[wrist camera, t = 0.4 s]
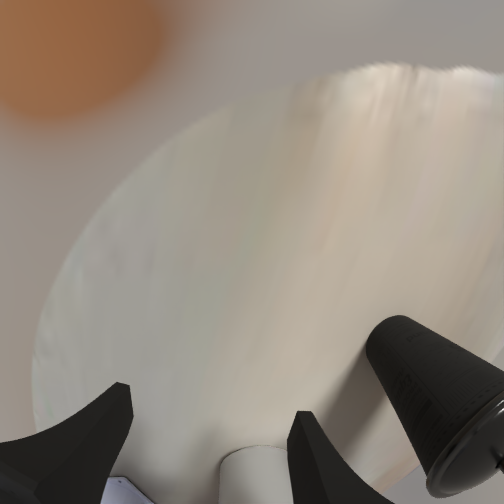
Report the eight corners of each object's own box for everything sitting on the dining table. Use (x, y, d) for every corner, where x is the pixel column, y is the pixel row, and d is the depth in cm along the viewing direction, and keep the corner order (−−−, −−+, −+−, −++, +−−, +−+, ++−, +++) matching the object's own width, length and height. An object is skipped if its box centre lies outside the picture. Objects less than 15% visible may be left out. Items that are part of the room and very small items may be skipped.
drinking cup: (415, 378, 23) (540, 531, 3) (340, 383, 23) (443, 598, 3) (439, 299, 22) (625, 423, 2) (361, 295, 21) (569, 499, 2)
